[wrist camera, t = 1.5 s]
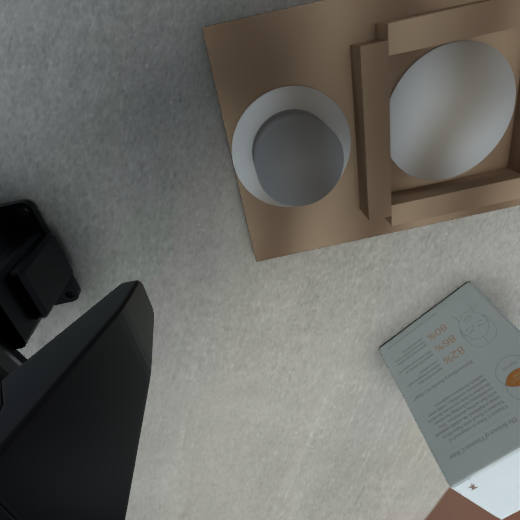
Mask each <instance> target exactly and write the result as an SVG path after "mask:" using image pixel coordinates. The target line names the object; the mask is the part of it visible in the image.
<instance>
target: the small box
mask: <svg viewBox="0 0 520 520" xmlns="http://www.w3.org/2000/svg"><path fill="white" fill-rule="evenodd" d="M379 350H380V353H381V355H382V357H383V359H384V361H385V363H386V365H387V367H388V368H389V370H390V372H391V374H392V376H393V378H394V380H395V382H396V384H397V386H398V388H399V390H400V391H401V393H402V395H403V397H404V399H405V401H406V403H407V405H408V407H409V409H410V411H411V413H412V415H413V417H414V419H415V421H416V422H417V424H418V426H419V428H420V430H421V432H422V434H423V436H424V438H425V440H426V442H427V444H428V446H429V448H430V450H431V452H432V454H433V456H434V458H435V460H436V462H437V463H438V465H439V467H440V469H441V471H442V473H443V475H444V477H445V479H446V481H447V483H448V484H449V486H450V487H451V488H452V489H454V490H455V491H457V492H459V493H460V494H461V495H463V496H465V497H466V498H468V499H469V500H471V501H472V502H474V503H475V504H477V505H479V506H480V507H482V508H484V509H485V510H486V511H488V512H490V513H491V514H493V515H494V516H496V517H498V518H499V519H504V518H506V517H507V516H509V515H511V514H513V513H515V512H517V511H519V510H520V330H519V329H518V328H517V327H516V326H515V325H514V324H513V323H512V322H511V321H510V320H509V319H508V318H507V317H506V316H505V315H504V314H503V313H502V312H501V311H500V310H499V309H498V308H496V307H495V306H494V305H493V304H492V303H491V302H490V301H489V300H488V299H487V298H486V297H485V296H484V295H483V294H482V293H481V292H480V291H479V290H478V289H477V288H476V287H475V286H474V285H473V284H472V283H470V282H468V283H466V284H465V285H463V286H462V287H461V288H460V289H458V290H457V291H456V292H454V293H453V294H451V295H450V296H449V297H448V298H446V299H445V300H443V301H442V302H441V303H439V304H438V305H437V306H435V307H434V308H433V309H431V310H430V311H429V312H427V313H426V314H425V315H423V316H422V317H421V318H419V319H418V320H417V321H415V322H414V323H413V324H411V325H410V326H409V327H407V328H406V329H405V330H403V331H402V332H401V333H399V334H398V335H397V336H395V337H394V338H393V339H391V340H390V341H389V342H387V343H386V344H385V345H383V346H382V347H381V348H380V349H379Z"/></svg>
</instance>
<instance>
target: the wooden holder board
mask: <svg viewBox="0 0 520 520" xmlns="http://www.w3.org/2000/svg"><path fill="white" fill-rule="evenodd" d="M202 31H203V35H204V39H205V44H206V48H207V52H208V57H209V61H210V65H211V70H212V74H213V78H214V83H215V87H216V91H217V95H218V100H219V104H220V108H221V113H222V117H223V121H224V126H225V130H226V134H227V138H228V143H229V147H230V151H231V156H232V160H233V165H234V169H235V173H236V177H237V181H238V186H239V190H240V194H241V199H242V203H243V207H244V212H245V216H246V220H247V224H248V229H249V233H250V237H251V242H252V246H253V250H254V255H255V259H256V262H257V261H262V260H267V259H271V258H276V257H281V256H285V255H290V254H294V253H299V252H304V251H308V250H313V249H318V248H322V247H327V246H332V245H336V244H341V243H345V242H350V241H355V240H359V239H364V238H369V237H373V236H378V235H383V234H387V233H392V232H396V231H401V230H406V229H410V228H415V227H420V226H424V225H429V224H434V223H438V222H443V221H448V220H452V219H457V218H461V217H466V216H471V215H475V214H480V213H485V212H489V211H494V210H499V209H503V208H508V207H512V206H517V205H520V0H322V1H317V2H313V3H308V4H304V5H299V6H295V7H291V8H286V9H282V10H277V11H273V12H268V13H264V14H260V15H255V16H251V17H246V18H242V19H237V20H233V21H229V22H224V23H220V24H215V25H211V26H206V27H202Z"/></svg>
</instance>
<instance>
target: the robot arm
mask: <svg viewBox="0 0 520 520" xmlns="http://www.w3.org/2000/svg"><path fill="white" fill-rule="evenodd" d="M21 207H25V208H27V210H28V211H29V213H26V212H24V211H23V210H22V208H21ZM72 273H73V271H72V269H71V267H70V265H69V263H68V261H67V259H66V257H65V255H64V253H63V252H62V250H61V248H60V246H59V244H58V242H57V240H56V238H55V236H53V235H52V234H50V232H49V230H48V228H47V227H46V225H45V223H44V221H43V219H42V217H41V215H40V213H39V212H38V210H37V208H36V206H35V205H34V204H33V203H32V202H31V201H28V200H19V201H14V202H10V203H5V204H1V205H0V520H125V517H126V511H127V506H128V500H129V495H130V489H131V483H132V478H133V472H134V467H135V461H136V455H137V450H138V444H139V439H140V433H141V427H142V422H143V416H144V411H145V405H146V399H147V394H148V388H149V382H150V376H151V365H152V346H153V327H154V312H153V308H152V305H151V303H150V301H149V298H148V296H147V293H146V291H145V288H144V286H143V284H142V283H141V282H140V281H138V280H136V281H130V282H125V283H122V284H120V285H119V286H118V287H117V288H115V289H114V290H113V291H112V292H110V293H109V294H108V295H107V296H105V297H104V298H103V299H102V300H101V301H99V302H98V303H97V304H96V305H94V306H93V307H92V308H91V309H89V310H88V311H87V312H86V313H85V314H83V315H82V316H81V317H80V318H78V319H77V320H76V321H75V322H73V323H72V324H71V325H70V326H69V327H67V328H66V329H65V330H64V331H62V332H61V333H60V334H59V335H57V336H56V337H55V338H54V339H53V340H51V341H50V342H49V343H48V344H46V345H45V346H44V347H43V348H42V349H40V350H39V351H38V352H37V353H35V354H34V355H33V356H32V357H30V358H29V359H28V360H27V359H26V358H25V357H24V356H23V355H22V354H21V353H20V352H18V351H17V350H16V349H19V348H23V347H25V346H26V344H27V342H28V341H29V339H30V337H31V336H32V334H33V332H34V330H35V329H36V327H37V325H38V324H39V322H40V320H41V319H42V318H46V317H47V316H48V315H49V313H50V311H51V309H52V308H53V306H54V305H58V304H63V303H68V302H72V301H75V300H77V299H78V297H79V295H80V289H79V287H78V285H77V283H76V281H75V279H74V277H73V275H72ZM68 291H71V292H73V293H74V294H69V293H68Z"/></svg>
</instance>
